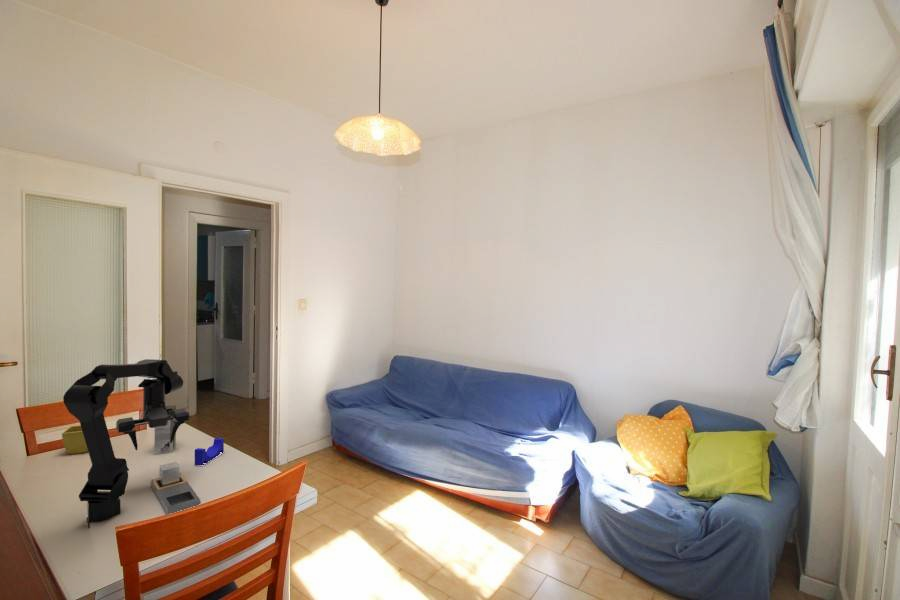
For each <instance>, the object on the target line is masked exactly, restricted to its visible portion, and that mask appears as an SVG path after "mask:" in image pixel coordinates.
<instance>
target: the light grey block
mask: <svg viewBox="0 0 900 600" xmlns="http://www.w3.org/2000/svg"><path fill="white" fill-rule="evenodd" d="M180 467H181V466H180V464H179V463H178V462H177V461H173V462H169V463H166V464H161V465H159V478H160V488H161V487H165V486H169V485H172V484H176V483H180V471H181V470H180Z"/></svg>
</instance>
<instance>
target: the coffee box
mask: <svg viewBox="0 0 900 600" xmlns="http://www.w3.org/2000/svg"><path fill="white" fill-rule="evenodd" d="M165 407H166V409H170V408H174V409H175V410H177V409H176V408H177V405H165ZM170 423H171V420H169V421H168V423H167V425H166V426H158V427H155V428H154V442H153V443H154V447H153V449H154V452H153V453H154V455H160V454H161V455H162V454H169V452H170V453H174V452H173V451H175V448H176V444H177V443H176V442H177V433H176V434H175V436H174V439H173V441H172V443H170V439H169V437H170Z"/></svg>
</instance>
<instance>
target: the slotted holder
mask: <svg viewBox="0 0 900 600" xmlns="http://www.w3.org/2000/svg"><path fill="white" fill-rule="evenodd" d="M150 486H151V489H152V490H153V492H154V494H155V495H156V497H157V499H158V501H159V503H160V505H161V506H162V509H163V510H164V512H165V515H167V514H170V513H174V512H177V511H180V510H184V509H187V508H190V507H193V506H197V505H199V504H201V499H200V497H199V495H197V493H196V491H195V490H194V489H193V487H192V486H191V485H190V483H189V482H188V481H187V479H186V478H185V477H184V475H183V474H182V472H180V483H176V484H172V485H169V486H165V487H161V488H160V477H157V478H153V479H151V482H150Z"/></svg>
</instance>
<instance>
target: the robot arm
mask: <svg viewBox="0 0 900 600" xmlns="http://www.w3.org/2000/svg"><path fill="white" fill-rule="evenodd" d="M133 377H138V378H144V379H143V380H142V382H140V383H139V384H138V386H137V387H138V388H142V392H143V393H142V399H143V401H142V414H143V415H142V418H137V419H134V418H133V416H131V417H130V416H129V417H124V418H119V419H117V421H116V423H115V425H116V426H115V428H116V430H117V432H118V433H122V434H124V435H128V436H129V438H130V439H131V443H132V445H133V447H134V450H135V451H138V447H139V446H138V439H137V431H136V429H135V427H138V426H143V425H147V426H148V427H149V428H150V429H155V427H158V426H166V425H167V423H168V421H169V420H171V423H170V437H169V439H170V443H172V441H173V439H174V436H175V434H176V435H177V431H178V429H179V427H180V426H181V425H183V424H185V423H186V422H187V421H189V420H190V412H188V411H187V410H186V409H185V408H180V409H176V410H175V409H174V408H170V409H166V407H165V406H166V395H168V394H172V393H174V392H176V391H179V390H181V389H182V387H183V385H184V380H183V378H182V377H181V376H180V375H179V374H178V371H176V370H175V371H174V370H173V369H172V368H171V366H170V364H169V363H168V361H167V360H166V359H151V358H150V359H148V358H146V359H142V360H139V361H137V362H135V363H122V364H99V365H97V366H95V367H94V368H93V370H91V371H90V372H89V373H87V374H85V375H84V376H82V377H80V378H79V379H77V380H75V382H73V384H72V385H71V386H70V387H69V388H68V389H67V390H66V391H65V393H64V395H63V397H62V398H63V399H62V400H63V404H64V406H65V407H66V409H67V411H68V413H69V414H70V415H72V417H74V418H76V419H77V420H78V421H79V424H80V425H81V428H82V432H83V435H84V438H85V442H86V445H87V449H88V452H87V453H88V455H89V459H90V463H91V466H90V468H89V471H88V473H87V481H86V482H85V484H84V486H83V488H82V490H81V491H80V492H79V494H78V498H79V501H80V502H87V517H86V523H87V528H88V529H91V526H90V525H91V524H90V523H101V522H104V521H108V520H110V519H112V518H114V517H116V516H118V515H120V514H121V499H120V498H121V497H122V496H124V495H125V492H126V489H127V488H126V487H127V486H128V485H127V484H128V480H129V471H130V468H128V463H127V460H126V458H123V457H122V458H119V457H116V456H115V451H114V449H113V445H112V442H111V437H110V434H109V430H108V426H107V421H106V419H105V414H104V413H105V411H106V408H107V406H108V404H109V401H108V400H109V399H108V398H109V397H110V395H112V393H113V392H114V391H115V384H116V383H115V382H116V380H117V379H122V378H133ZM100 380H105V382H104V383H103V384H102V385H95V384H97V383H98V382H99V381H100ZM80 425H79V426H80Z"/></svg>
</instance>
